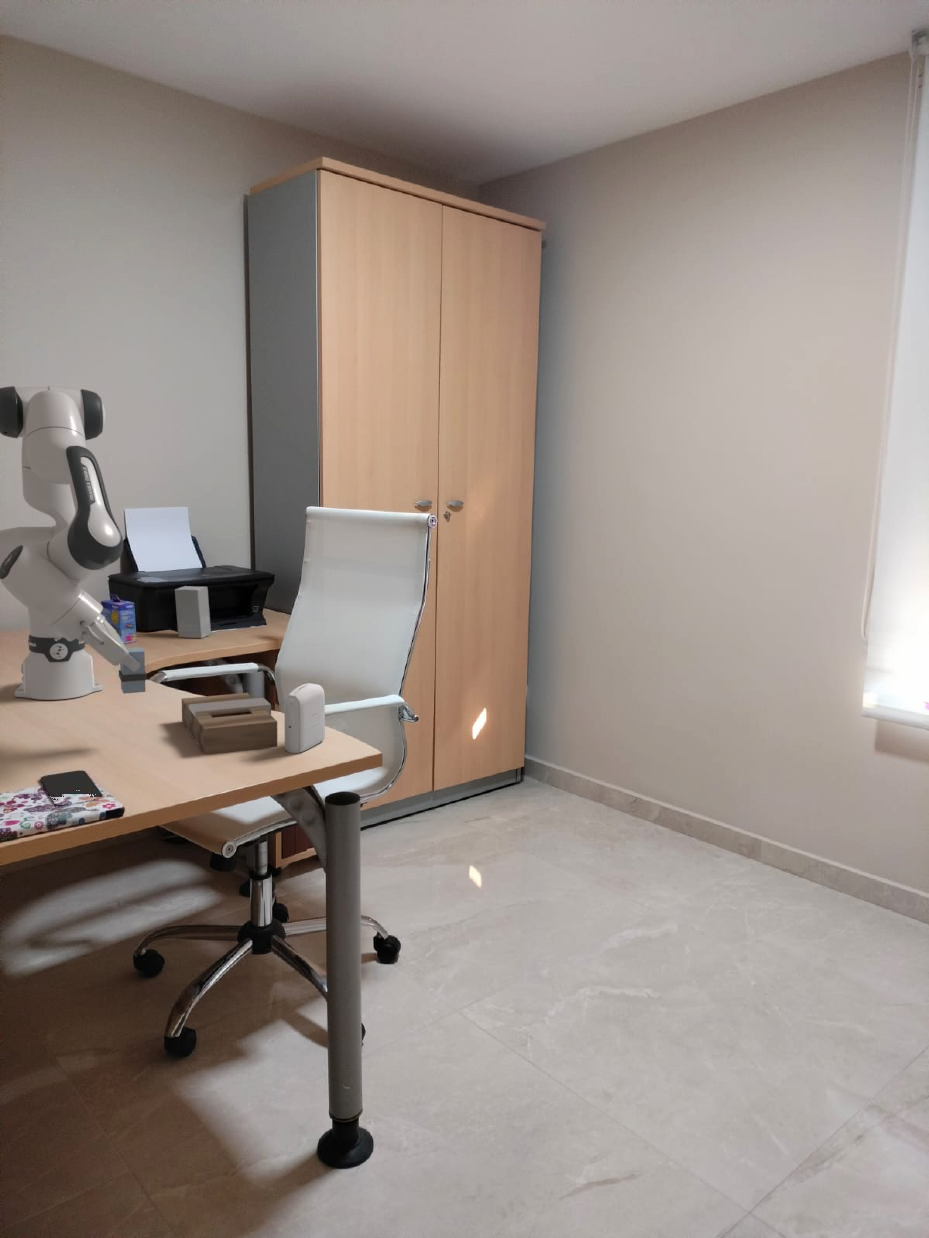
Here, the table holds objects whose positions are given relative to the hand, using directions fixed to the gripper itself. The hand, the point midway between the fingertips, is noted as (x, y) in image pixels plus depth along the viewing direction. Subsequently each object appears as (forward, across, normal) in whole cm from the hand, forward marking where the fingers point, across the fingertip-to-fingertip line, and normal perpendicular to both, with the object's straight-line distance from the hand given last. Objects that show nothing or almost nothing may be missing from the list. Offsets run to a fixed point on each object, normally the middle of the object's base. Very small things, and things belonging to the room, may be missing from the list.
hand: (135, 665), depth 175 cm
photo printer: (+32, -14, -10) cm, 36 cm away
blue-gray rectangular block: (+3, 0, +4) cm, 5 cm away
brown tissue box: (+23, 0, -1) cm, 23 cm away
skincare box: (+34, +107, -9) cm, 112 cm away
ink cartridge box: (+18, +106, +6) cm, 108 cm away
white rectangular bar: (+22, 0, -3) cm, 22 cm away
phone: (+2, -22, +21) cm, 31 cm away
